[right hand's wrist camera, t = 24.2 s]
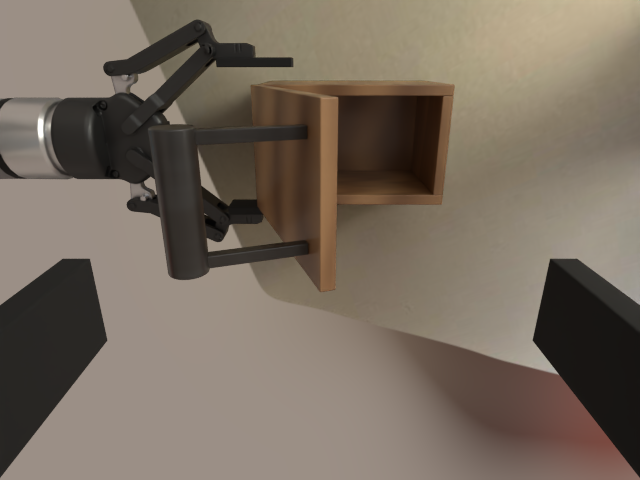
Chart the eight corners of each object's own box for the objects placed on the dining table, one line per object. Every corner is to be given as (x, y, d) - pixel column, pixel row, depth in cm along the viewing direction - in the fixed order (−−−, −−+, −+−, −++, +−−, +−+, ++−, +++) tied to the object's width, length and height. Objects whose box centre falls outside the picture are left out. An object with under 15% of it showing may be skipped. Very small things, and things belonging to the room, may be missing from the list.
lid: (338, 96, 20) (141, 101, 18) (335, 290, 24) (173, 317, 21) (261, 84, 35) (148, 85, 32) (267, 205, 39) (166, 215, 36)
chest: (424, 80, 45) (454, 84, 35) (416, 176, 49) (441, 204, 39) (271, 80, 45) (257, 84, 35) (274, 176, 49) (263, 204, 39)
